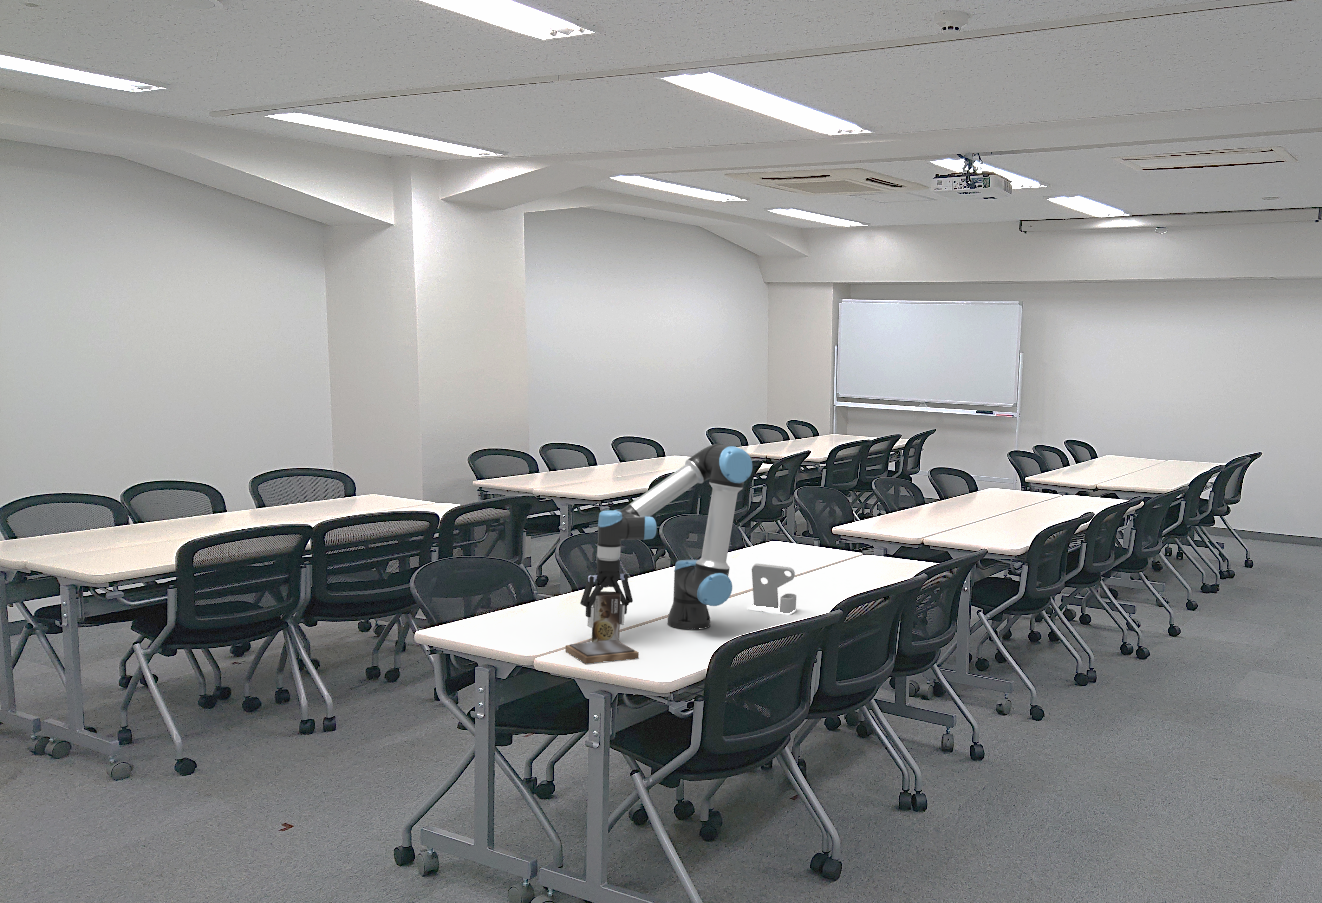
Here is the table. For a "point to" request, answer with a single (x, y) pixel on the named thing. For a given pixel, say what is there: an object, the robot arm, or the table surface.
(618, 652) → the tray
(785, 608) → the grey bracket with cup
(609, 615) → the coffee box
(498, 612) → the table surface
